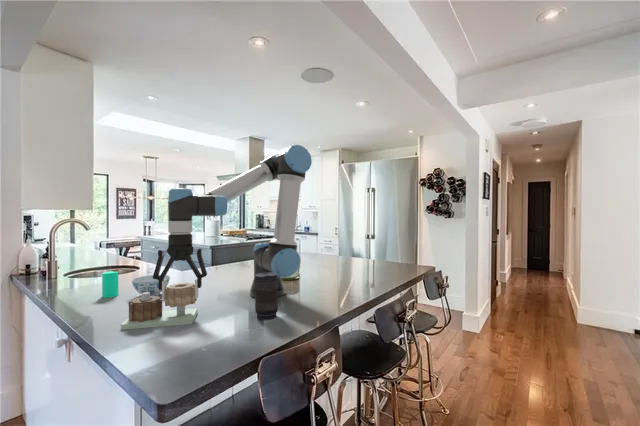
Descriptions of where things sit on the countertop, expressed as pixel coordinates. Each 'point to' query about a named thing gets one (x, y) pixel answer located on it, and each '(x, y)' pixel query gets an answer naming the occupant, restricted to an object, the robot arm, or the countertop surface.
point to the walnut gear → (145, 309)
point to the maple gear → (180, 295)
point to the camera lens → (266, 295)
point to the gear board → (163, 317)
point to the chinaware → (148, 284)
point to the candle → (109, 284)
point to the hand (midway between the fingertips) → (180, 298)
